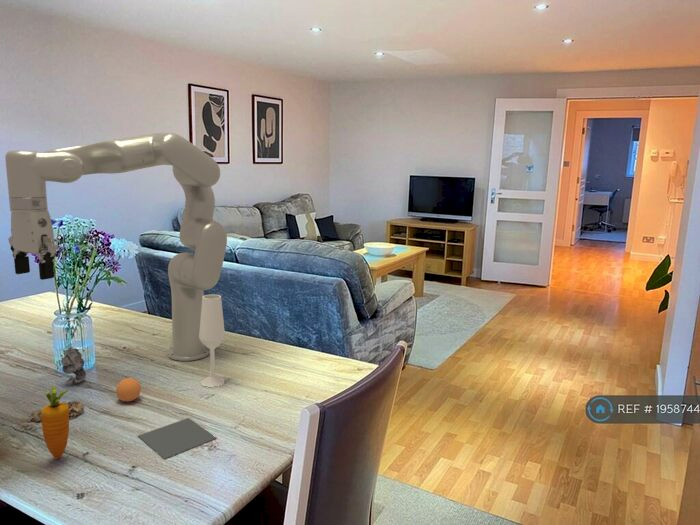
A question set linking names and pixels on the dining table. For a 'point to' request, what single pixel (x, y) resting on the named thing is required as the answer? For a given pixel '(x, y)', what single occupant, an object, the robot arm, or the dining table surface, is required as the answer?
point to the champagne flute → (212, 332)
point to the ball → (128, 389)
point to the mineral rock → (74, 411)
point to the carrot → (55, 423)
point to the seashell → (73, 365)
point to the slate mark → (176, 438)
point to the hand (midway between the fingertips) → (34, 275)
